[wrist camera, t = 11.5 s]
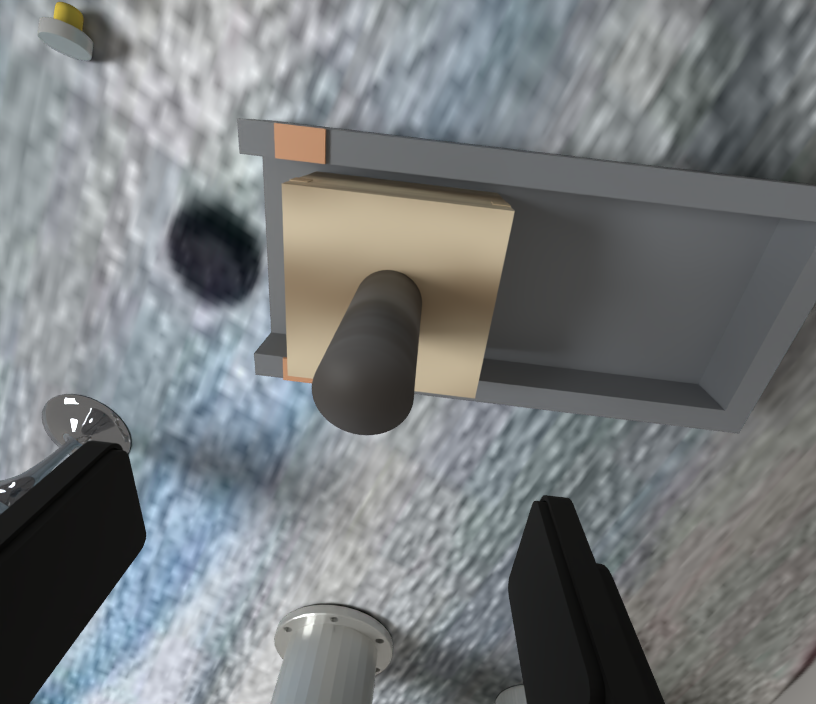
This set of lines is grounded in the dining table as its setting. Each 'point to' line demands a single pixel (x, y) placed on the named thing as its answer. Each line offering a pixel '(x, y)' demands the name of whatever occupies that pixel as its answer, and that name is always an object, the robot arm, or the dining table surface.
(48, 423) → the wine glass
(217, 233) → the dining table surface
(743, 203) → the bay
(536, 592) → the robot arm
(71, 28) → the reed diffuser
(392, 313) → the rubber stamp
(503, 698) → the ramekin
